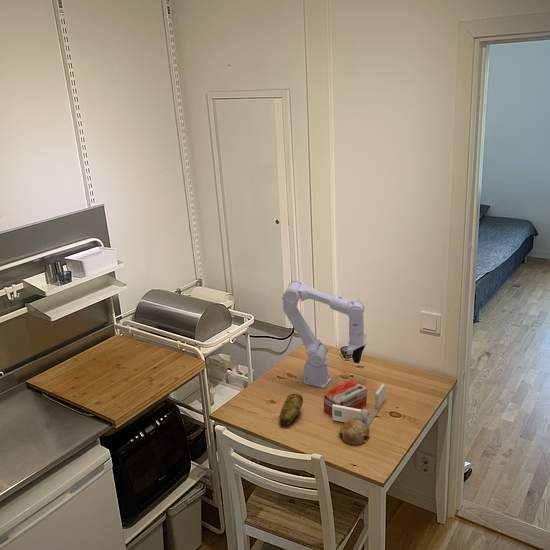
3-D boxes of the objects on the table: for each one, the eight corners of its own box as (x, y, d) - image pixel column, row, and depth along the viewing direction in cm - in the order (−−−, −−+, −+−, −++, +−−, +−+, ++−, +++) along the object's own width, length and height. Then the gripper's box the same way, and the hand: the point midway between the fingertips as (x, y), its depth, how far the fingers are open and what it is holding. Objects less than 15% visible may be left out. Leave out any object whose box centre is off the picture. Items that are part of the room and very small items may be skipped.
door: (360, 425, 208) (360, 411, 206) (332, 420, 213) (332, 406, 210) (361, 423, 210) (361, 409, 207) (333, 418, 214) (333, 404, 212)
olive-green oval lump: (270, 421, 215) (269, 402, 212) (294, 406, 223) (293, 388, 221) (287, 429, 210) (286, 411, 207) (310, 414, 218) (309, 395, 215)
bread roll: (356, 456, 199) (365, 441, 195) (332, 437, 202) (340, 423, 198) (368, 440, 207) (377, 425, 203) (344, 422, 210) (352, 408, 206)
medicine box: (337, 420, 213) (337, 402, 210) (323, 411, 219) (322, 393, 217) (367, 405, 221) (367, 387, 219) (352, 396, 228) (352, 378, 225)
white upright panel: (360, 427, 208) (360, 411, 206) (380, 398, 225) (380, 382, 223) (366, 428, 207) (366, 412, 205) (386, 399, 224) (386, 384, 222)
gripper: (359, 341, 219) (359, 372, 223) (372, 325, 230) (372, 356, 235) (341, 338, 222) (342, 369, 227) (356, 323, 234) (356, 352, 239)
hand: (356, 362), depth 231 cm, fingers closed
